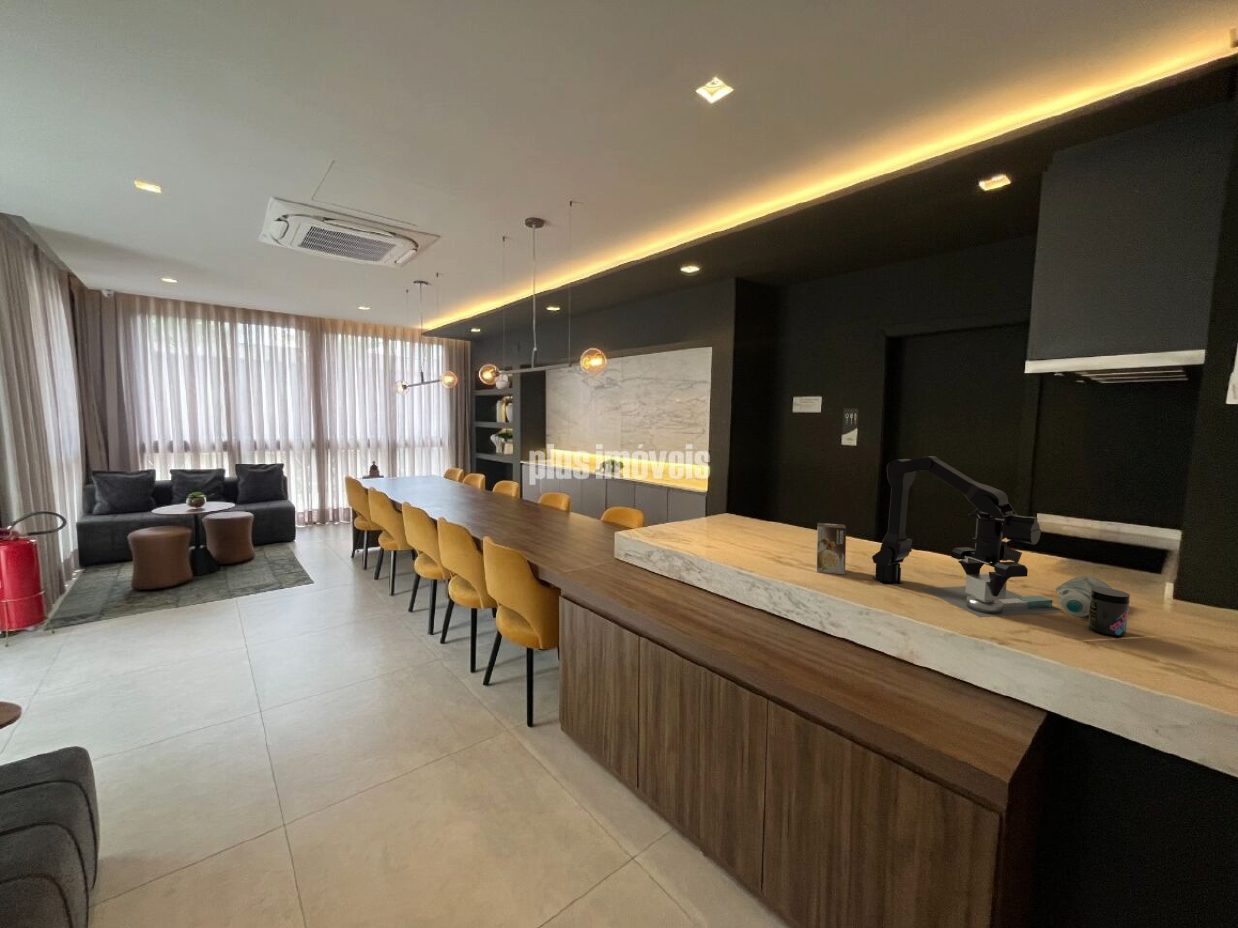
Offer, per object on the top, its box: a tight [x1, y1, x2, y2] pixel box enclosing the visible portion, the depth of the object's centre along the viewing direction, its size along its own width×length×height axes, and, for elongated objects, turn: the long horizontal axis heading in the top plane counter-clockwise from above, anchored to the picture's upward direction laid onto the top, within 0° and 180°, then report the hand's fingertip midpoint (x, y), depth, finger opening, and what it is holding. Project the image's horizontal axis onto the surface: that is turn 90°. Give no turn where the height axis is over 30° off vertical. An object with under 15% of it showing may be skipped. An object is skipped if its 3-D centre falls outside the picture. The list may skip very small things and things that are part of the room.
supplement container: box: [1087, 587, 1131, 639], centre depth 119 cm, size 7×7×10 cm
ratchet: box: [966, 595, 1054, 614], centre depth 135 cm, size 23×8×6 cm, turn 97°
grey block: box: [965, 573, 1008, 600], centre depth 134 cm, size 6×6×5 cm
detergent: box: [1055, 575, 1113, 618], centre depth 135 cm, size 13×7×25 cm
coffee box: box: [816, 522, 847, 575], centre depth 169 cm, size 9×6×16 cm
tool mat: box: [919, 585, 1064, 618], centre depth 141 cm, size 25×22×1 cm
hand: (985, 591), depth 134 cm, fingers closed on grey block, 6 cm apart
